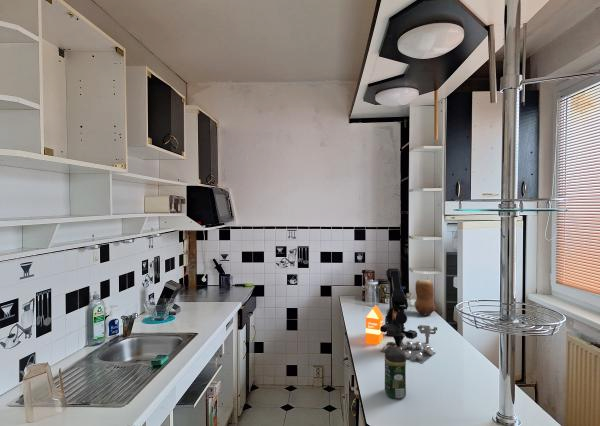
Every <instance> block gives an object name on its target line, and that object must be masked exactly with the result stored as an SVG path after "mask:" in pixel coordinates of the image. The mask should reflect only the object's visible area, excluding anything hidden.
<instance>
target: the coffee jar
mask: <svg viewBox="0 0 600 426" xmlns="http://www.w3.org/2000/svg"><path fill="white" fill-rule="evenodd" d="M406 365H407V360H406V355H405V353H404V352H403V351H402V350H401V349H400V348H398V347H388V348H386V349H385V353H384V391H385V394H386V395H387V397H389V398H391V399H395V400H396V399H397V400H401V399H404V398H406V396H407V387H406V386H407V385H406V379H407V377H406V376H407V375H406V370H407V368H406Z"/></svg>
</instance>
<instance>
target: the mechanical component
mask: <svg viewBox="0 0 600 426" xmlns="http://www.w3.org/2000/svg"><path fill="white" fill-rule="evenodd" d="M417 330H418V331H419V333H420V334H422V335H423V334H424V337H425V345H428V344H430V343H429V341H430V338H429V337H430V336H431V335H436V332H437V331H438V327H436V326H433V328H431V326H430V325H425V324H424V325H420V324H419V325H417Z"/></svg>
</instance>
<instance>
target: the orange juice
mask: <svg viewBox="0 0 600 426" xmlns="http://www.w3.org/2000/svg"><path fill="white" fill-rule="evenodd" d="M383 315H384V314H382V311H380V309H379V307H378V306H377V305H375V306H374V307H373V308H371V310H370V311H369V312H368V314H367V316H365V344H366V343H367V345H372V344H374V346H377V345H380V344H381V342H382V341H383V338H384V332H381V331H380V327H381V326H382V325H384V323H383V322H384V317H383Z"/></svg>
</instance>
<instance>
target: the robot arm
mask: <svg viewBox="0 0 600 426" xmlns="http://www.w3.org/2000/svg"><path fill="white" fill-rule="evenodd" d="M384 273H385V278H386V280H387V281H388V285H389V286H388V287H389V288H388V296H389V297H388V299H389V300H388V302H389V305H388V306H389V308H388V310H387V311H386V315H385V319H384V324H383V325H382V326H381V327H380V331H381V332H383V333H385V334H384V336H385V337H390V338H393V340H394V343H396V346H400V345H401V342H402V340H403V341H404V338H405V337H406V339H409V340H414V339H415V338H417V337H418V333H417V331H416V330H412V329H409V330H406V327H405V324H406V323H407V321H408V317H407V315H406V313H405V311H406V310H408V307H409V305H408V299H407V296H405V292H404V291H403V290H402V286H401V279H400V278H401V277H402V271H401V269H400V270H399V268H396V267H395V268H394V267H393V268H390V267H389V268H387V269H385V271H384Z"/></svg>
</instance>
